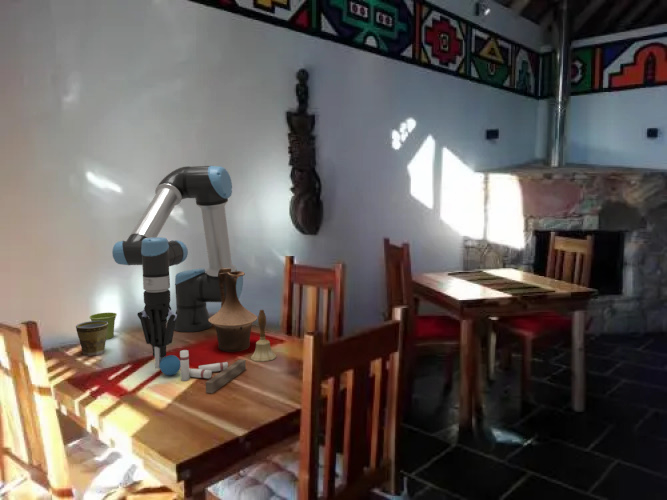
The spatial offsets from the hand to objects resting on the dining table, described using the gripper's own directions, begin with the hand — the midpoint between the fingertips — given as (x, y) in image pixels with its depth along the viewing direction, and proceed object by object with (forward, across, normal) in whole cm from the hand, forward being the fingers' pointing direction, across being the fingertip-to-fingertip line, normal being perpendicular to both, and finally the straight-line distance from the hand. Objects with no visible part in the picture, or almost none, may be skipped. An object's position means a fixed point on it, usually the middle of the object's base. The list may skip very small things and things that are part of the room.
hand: (160, 366), depth 160 cm
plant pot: (+2, -44, +28) cm, 52 cm away
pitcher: (+2, +9, +30) cm, 31 cm away
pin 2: (+1, +11, +3) cm, 12 cm away
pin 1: (+2, +10, -2) cm, 11 cm away
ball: (-1, +4, 0) cm, 4 cm away
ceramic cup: (+3, -36, +12) cm, 38 cm away
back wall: (+2, +22, 0) cm, 22 cm away
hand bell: (+2, +24, +22) cm, 33 cm away
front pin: (+1, +8, 0) cm, 8 cm away
